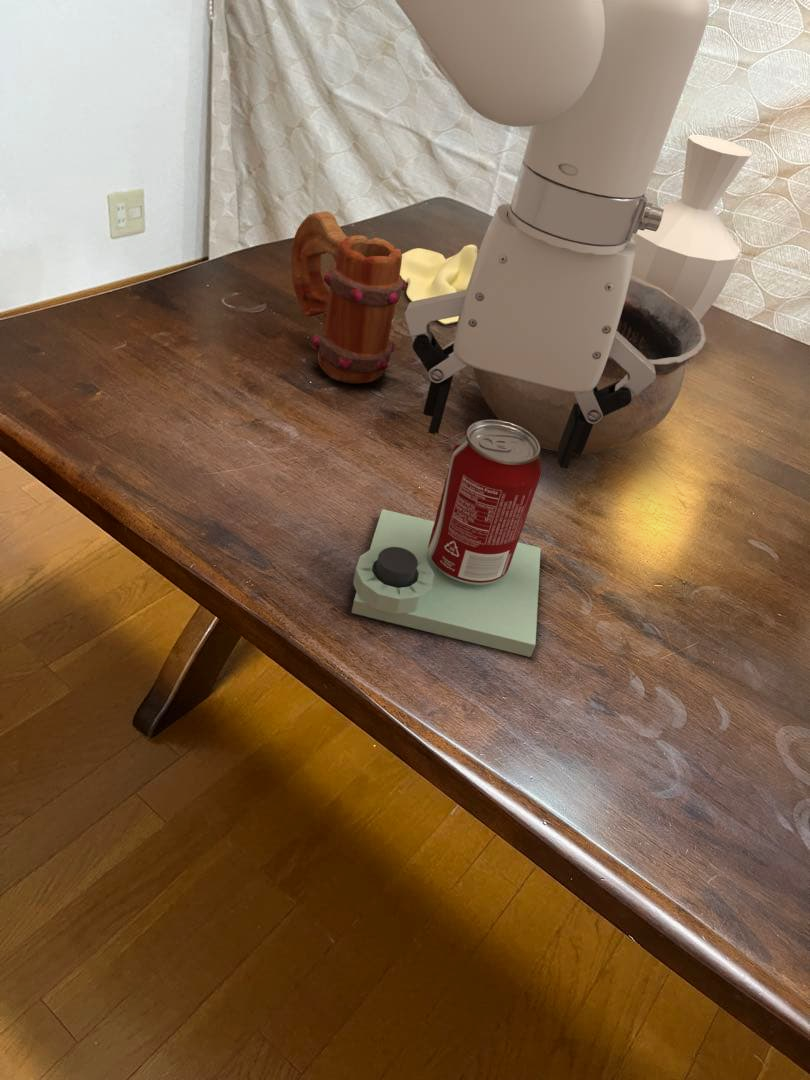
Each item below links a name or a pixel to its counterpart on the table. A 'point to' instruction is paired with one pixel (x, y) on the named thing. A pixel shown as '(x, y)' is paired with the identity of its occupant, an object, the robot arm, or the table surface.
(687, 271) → the vase
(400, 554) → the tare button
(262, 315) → the table surface
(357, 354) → the mug
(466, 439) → the soda can
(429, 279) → the cloth
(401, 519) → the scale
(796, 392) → the table surface
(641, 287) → the ceramic bowl
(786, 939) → the table surface
